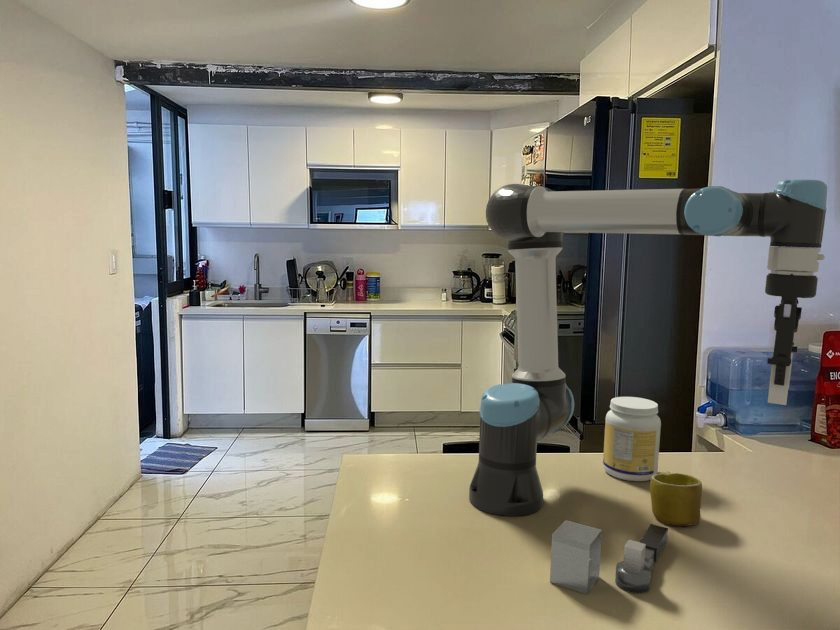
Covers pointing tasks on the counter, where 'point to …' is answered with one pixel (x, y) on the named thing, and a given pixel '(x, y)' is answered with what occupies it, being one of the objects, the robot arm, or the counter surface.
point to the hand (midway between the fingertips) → (778, 395)
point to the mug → (676, 498)
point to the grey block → (575, 556)
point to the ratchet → (640, 560)
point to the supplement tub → (632, 439)
